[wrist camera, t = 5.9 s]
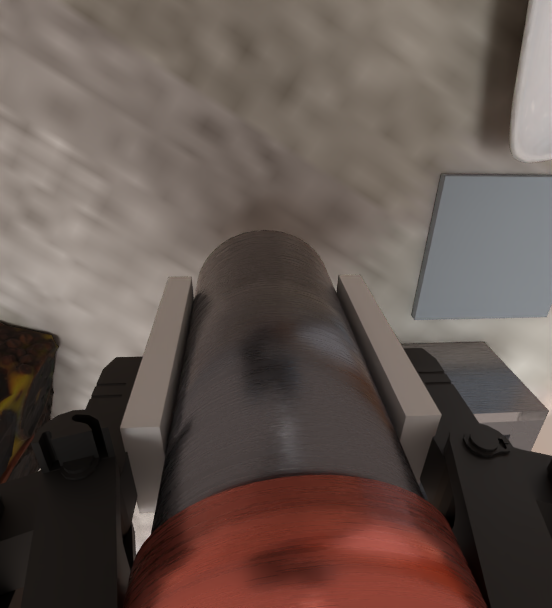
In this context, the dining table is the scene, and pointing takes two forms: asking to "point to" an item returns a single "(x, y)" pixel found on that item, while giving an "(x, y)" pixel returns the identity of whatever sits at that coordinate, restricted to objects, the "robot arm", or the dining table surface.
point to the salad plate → (533, 88)
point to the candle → (23, 397)
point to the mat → (488, 249)
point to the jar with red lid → (287, 458)
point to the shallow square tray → (490, 391)
